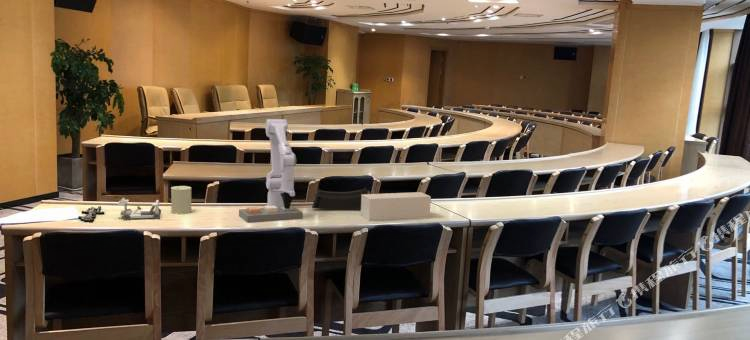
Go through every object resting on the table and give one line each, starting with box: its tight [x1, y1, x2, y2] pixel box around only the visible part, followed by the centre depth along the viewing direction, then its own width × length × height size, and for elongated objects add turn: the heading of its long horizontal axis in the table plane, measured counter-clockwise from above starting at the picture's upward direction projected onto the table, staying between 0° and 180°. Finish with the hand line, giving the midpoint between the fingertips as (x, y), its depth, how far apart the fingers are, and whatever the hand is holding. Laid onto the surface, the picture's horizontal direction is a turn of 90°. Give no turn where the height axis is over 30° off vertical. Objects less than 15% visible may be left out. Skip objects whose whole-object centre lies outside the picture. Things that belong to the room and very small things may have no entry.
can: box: [170, 185, 192, 215], centre depth 284 cm, size 9×9×12 cm
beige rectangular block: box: [360, 191, 432, 222], centre depth 293 cm, size 32×11×11 cm, turn 113°
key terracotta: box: [246, 206, 261, 214], centre depth 277 cm, size 5×5×3 cm
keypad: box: [238, 205, 303, 223], centre depth 281 cm, size 14×26×3 cm, turn 118°
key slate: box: [280, 207, 294, 211], centre depth 285 cm, size 5×5×3 cm
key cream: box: [263, 205, 278, 213], centre depth 281 cm, size 5×5×3 cm
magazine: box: [311, 188, 371, 212], centre depth 302 cm, size 17×3×30 cm
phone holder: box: [116, 197, 162, 221], centre depth 271 cm, size 18×10×12 cm
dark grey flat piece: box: [77, 205, 105, 224], centre depth 271 cm, size 27×2×10 cm
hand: (287, 208), depth 285 cm, fingers closed, pressing on key slate
